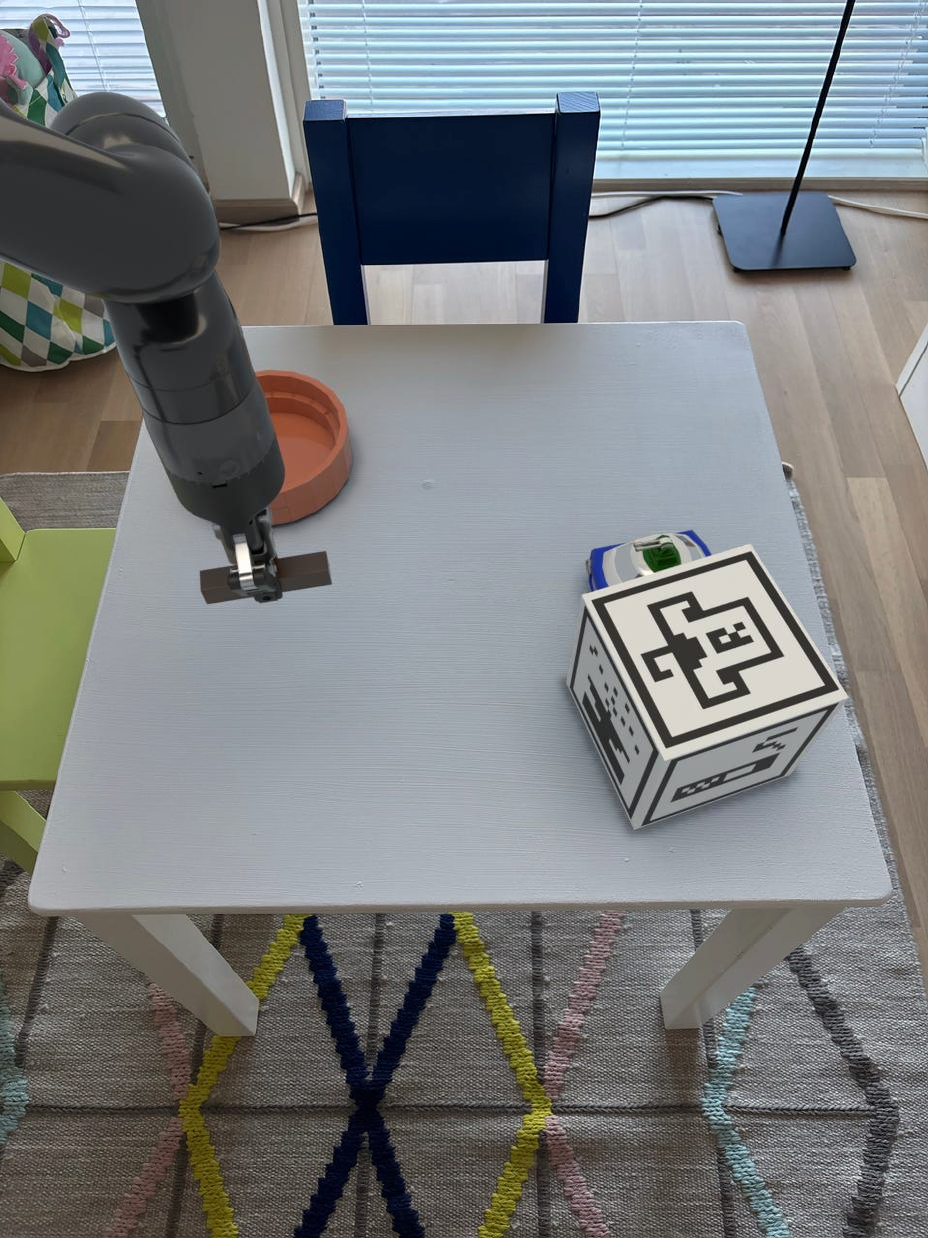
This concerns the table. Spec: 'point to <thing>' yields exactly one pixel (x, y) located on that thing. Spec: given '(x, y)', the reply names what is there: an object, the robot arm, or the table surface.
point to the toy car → (642, 557)
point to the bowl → (306, 442)
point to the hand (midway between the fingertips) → (268, 584)
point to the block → (698, 684)
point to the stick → (289, 570)
